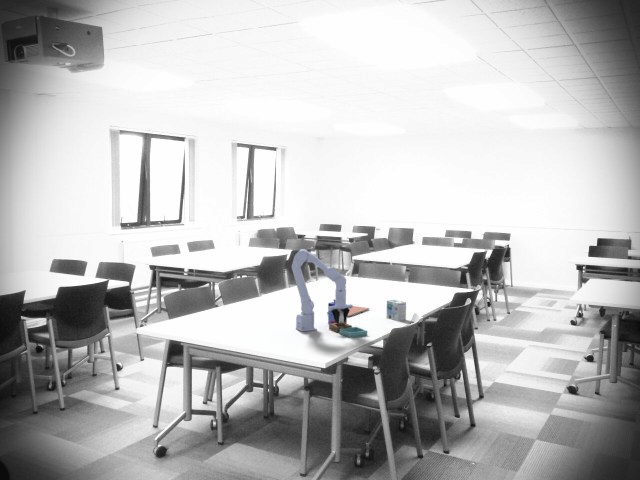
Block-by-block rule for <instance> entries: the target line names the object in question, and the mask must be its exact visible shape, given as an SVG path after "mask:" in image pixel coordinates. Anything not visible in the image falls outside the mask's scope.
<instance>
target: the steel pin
mask: <svg viewBox="0 0 640 480" xmlns="http://www.w3.org/2000/svg"><path fill="white" fill-rule="evenodd" d="M337 326H344V312H343V311H340V313H339V321H338V323H337Z"/></svg>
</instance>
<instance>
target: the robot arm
mask: <svg viewBox="0 0 640 480" xmlns="http://www.w3.org/2000/svg"><path fill="white" fill-rule="evenodd" d="M292 260H293V261H292V264H291V271H292V273H293V274H292V275H293V276H294V277H293V278H294V280H295V283H296V284H295V285H296V288H297V291H298V294H299V296H300V297H299V298H300V304H301V307H300V308H301V312H300V313H299V314H296V318H295V322H296V323H295V325H296V327H295V329H296V330H298V331H300V332H311V331H317V330H318V329H317V328H316V327H315V311H314V307H315V303H314V302H313V301H312V299H311V297H310V293H309V291H308V288H307V284H306V281H305V277H304V274H303V271H302V266H303V264H304V263H305V262H307V263H312V264H314V265H315V266H316V267H317V268H319V269H321V270H322V271H323V273H324V276H325V277H326V278H328V279H329V280H330V281H331V282H333V283H335V299H334V300H335V305H334V306H329V307H327V311H328V310H329V311H332V313H333V316H334V319H335V323H338V321H339V313H340V311H338V310H339V309H341V310H342V311H343V312H344V322H346V318H347V319H348V317H347V315H348V313H349V311H350V309H349V308H353V306H354V305H353V304H351V303H350V304H347V289H346V288H347V286H346V285H347V278H346V277H345V275H343V274H342V273H340V272H338V270H336V269H335V267H334V266H328V265H326V264H325V263H324V262H323V261H322V260H320V258H318V257H317V256H316V255H315V254H314V253H312V252H310V251H308V249H305V248H301V249H299V250H298V251H297V253H295V255H294V257H293V259H292ZM346 304H347V305H346Z"/></svg>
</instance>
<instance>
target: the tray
mask: <svg viewBox="0 0 640 480" xmlns="http://www.w3.org/2000/svg"><path fill="white" fill-rule="evenodd" d="M339 335H342V336H344V335H345V337H348V338H350V339H353V338H360V337H365V336H368V330H366V329H365V328H364V329H363V328H361V327H358V326H352V327H350V328H342V329H340V333H339ZM352 337H353V338H352Z"/></svg>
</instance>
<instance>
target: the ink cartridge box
mask: <svg viewBox="0 0 640 480" xmlns="http://www.w3.org/2000/svg"><path fill="white" fill-rule="evenodd" d="M327 304H328V305H327V306H328V307H329V306H334V305H335V299H333V301H332V302H328V303H327ZM346 305H348V304H347V303H346ZM328 307H327V308H328ZM338 311H342V310H341V309H339V310H338ZM327 312H328V314H327V315H328V316H327V317H328V318H327V319H328V320H327V321H328V323H327V324H328V325H329V324H333V323H335V319H334V316H333V313H332V311H329V310H328V309H327ZM347 319H348V317H347V318H346V322H344V323H346V324H348V322H347V321H348V320H347Z"/></svg>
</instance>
